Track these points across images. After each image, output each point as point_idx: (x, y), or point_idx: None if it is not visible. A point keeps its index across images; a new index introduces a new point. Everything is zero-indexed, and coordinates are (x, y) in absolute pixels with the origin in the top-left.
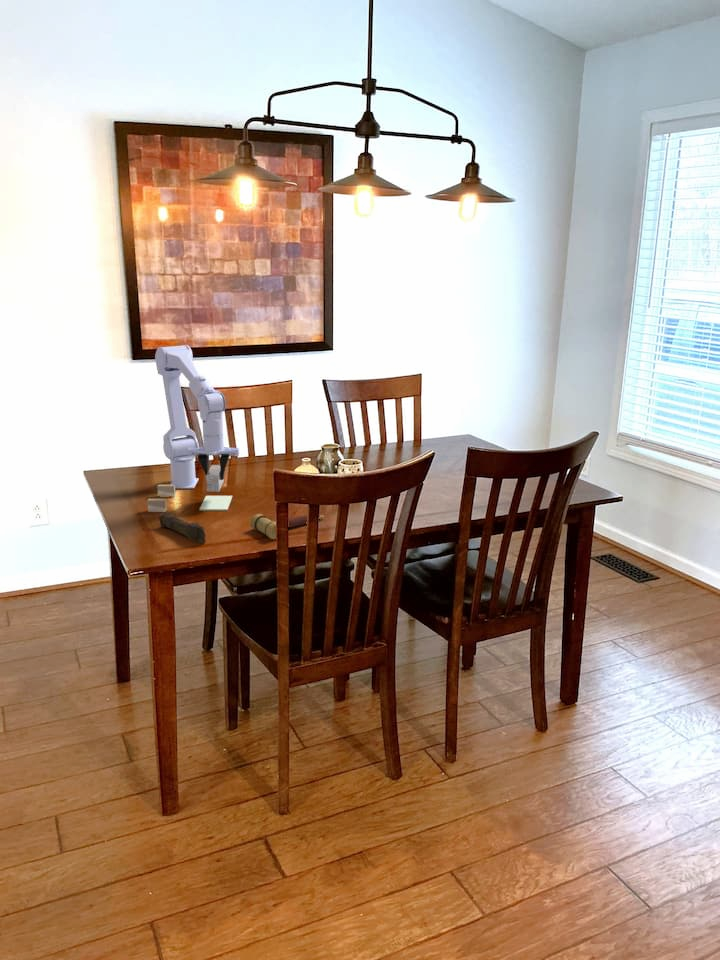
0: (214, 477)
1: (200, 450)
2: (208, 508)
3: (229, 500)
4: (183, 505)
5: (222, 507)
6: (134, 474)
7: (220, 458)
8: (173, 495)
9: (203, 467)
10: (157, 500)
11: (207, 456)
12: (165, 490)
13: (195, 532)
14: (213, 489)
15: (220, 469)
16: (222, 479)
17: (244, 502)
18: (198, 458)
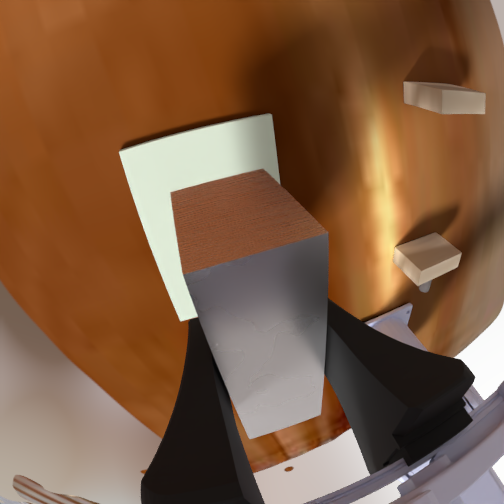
0: (225, 244)
1: (495, 462)
2: (226, 133)
3: (164, 270)
4: (356, 168)
5: (155, 169)
6: (456, 337)
7: (228, 501)
8: (401, 249)
9: (383, 338)
10: (462, 90)
11: (389, 452)
12: (433, 251)
13: None
14: (216, 186)
15: (235, 396)
16: (191, 321)
17: (95, 279)
18: (471, 383)
